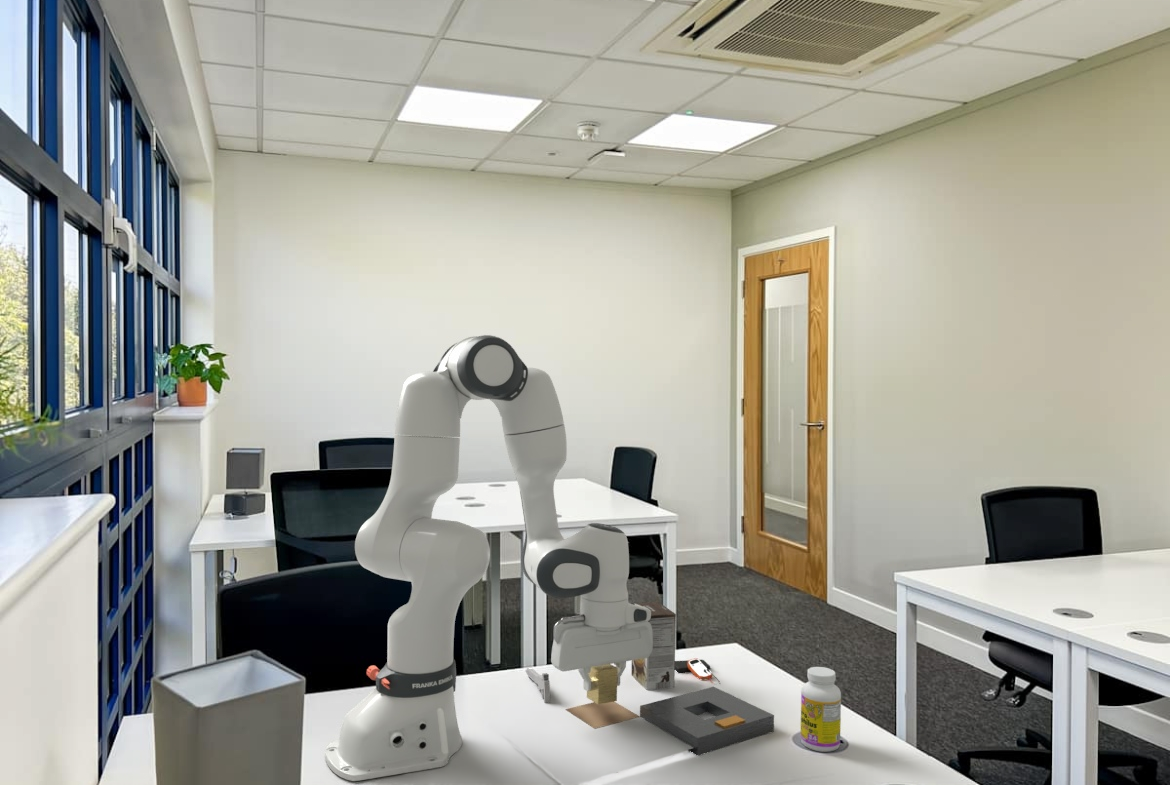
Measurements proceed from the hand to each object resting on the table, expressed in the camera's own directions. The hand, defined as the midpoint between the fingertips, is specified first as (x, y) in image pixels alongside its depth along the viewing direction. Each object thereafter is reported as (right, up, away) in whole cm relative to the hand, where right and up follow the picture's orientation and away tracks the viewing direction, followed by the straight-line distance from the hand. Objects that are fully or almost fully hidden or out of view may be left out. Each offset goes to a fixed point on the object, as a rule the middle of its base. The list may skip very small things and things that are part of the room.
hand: (601, 687), depth 151 cm
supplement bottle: (+38, -7, -9) cm, 39 cm away
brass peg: (0, -2, 0) cm, 2 cm away
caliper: (-13, -6, +16) cm, 21 cm away
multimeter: (+23, -7, +22) cm, 33 cm away
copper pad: (0, -6, +1) cm, 6 cm away
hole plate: (+19, -6, -2) cm, 20 cm away
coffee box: (+11, -6, +18) cm, 22 cm away
